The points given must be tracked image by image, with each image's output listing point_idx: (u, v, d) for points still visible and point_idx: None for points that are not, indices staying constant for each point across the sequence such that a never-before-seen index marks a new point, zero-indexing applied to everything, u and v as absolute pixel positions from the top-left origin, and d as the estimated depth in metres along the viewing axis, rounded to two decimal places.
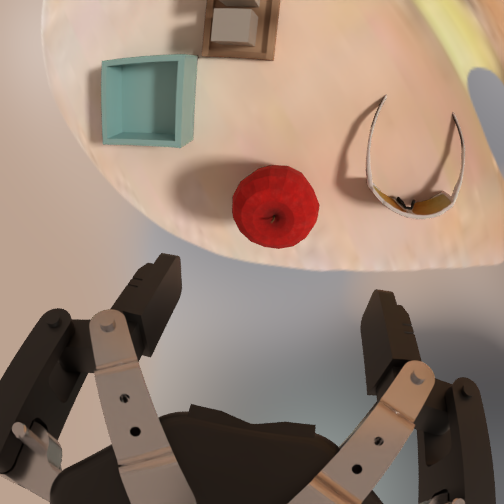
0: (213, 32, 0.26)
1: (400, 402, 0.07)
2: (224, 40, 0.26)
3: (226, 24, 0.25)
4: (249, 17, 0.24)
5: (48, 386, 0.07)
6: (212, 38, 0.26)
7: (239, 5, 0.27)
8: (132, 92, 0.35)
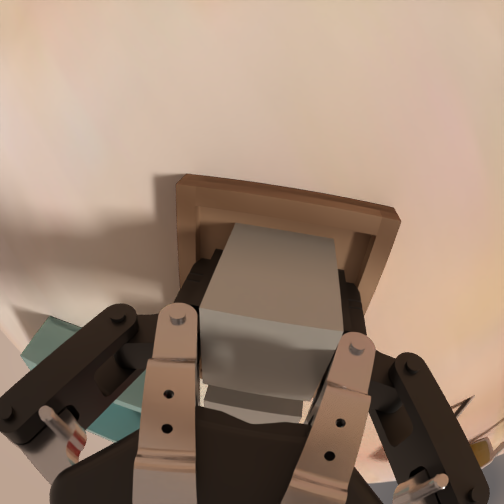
0: None
1: (347, 377, 0.08)
2: None
3: None
4: None
5: (92, 379, 0.07)
6: None
7: None
8: None
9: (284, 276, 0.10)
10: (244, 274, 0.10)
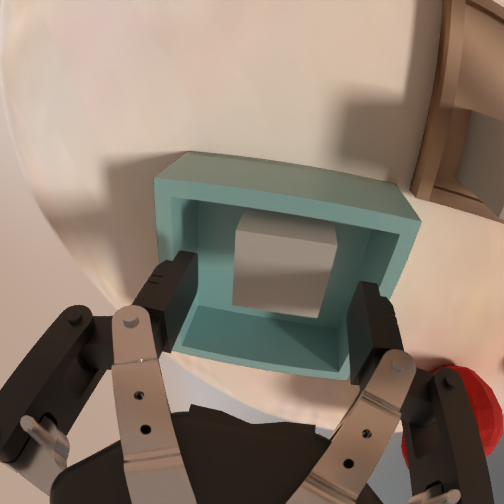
0: None
1: (383, 392, 0.07)
2: None
3: None
4: None
5: (62, 382, 0.07)
6: (503, 212, 0.09)
7: None
8: (226, 238, 0.18)
9: (293, 215, 0.14)
10: (265, 213, 0.13)
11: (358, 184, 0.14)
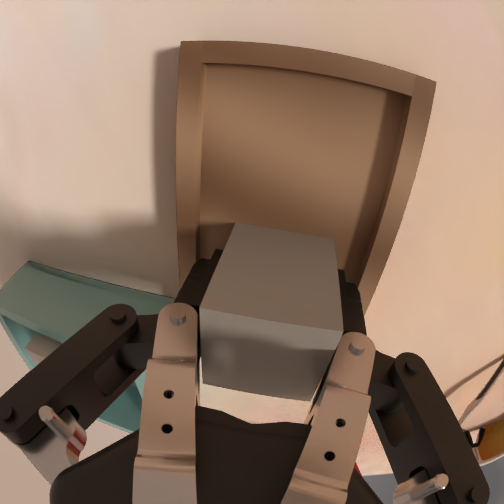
0: (208, 370, 0.10)
1: (347, 377, 0.08)
2: None
3: (249, 360, 0.09)
4: (329, 354, 0.09)
5: (92, 379, 0.07)
6: (207, 380, 0.10)
7: None
8: None
9: None
10: None
11: None
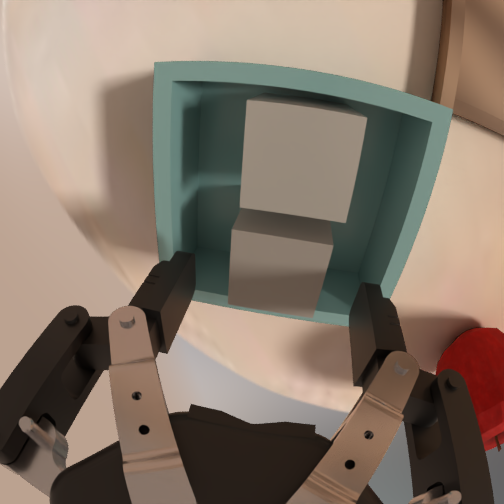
0: (233, 289, 0.14)
1: (386, 394, 0.07)
2: None
3: (266, 276, 0.13)
4: (324, 266, 0.12)
5: (60, 383, 0.07)
6: (231, 300, 0.14)
7: None
8: (231, 157, 0.15)
9: (311, 102, 0.11)
10: (279, 98, 0.11)
11: None
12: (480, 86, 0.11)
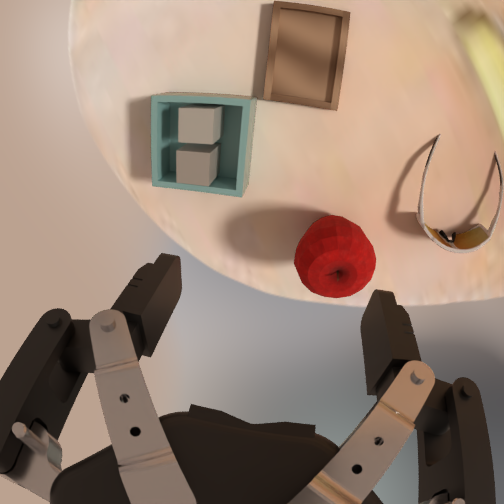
0: (178, 175, 0.34)
1: (400, 402, 0.07)
2: (188, 182, 0.35)
3: (189, 168, 0.34)
4: (208, 162, 0.33)
5: (48, 386, 0.07)
6: (177, 180, 0.35)
7: None
8: None
9: (203, 106, 0.32)
10: (192, 106, 0.31)
11: (234, 95, 0.32)
12: (288, 84, 0.31)
